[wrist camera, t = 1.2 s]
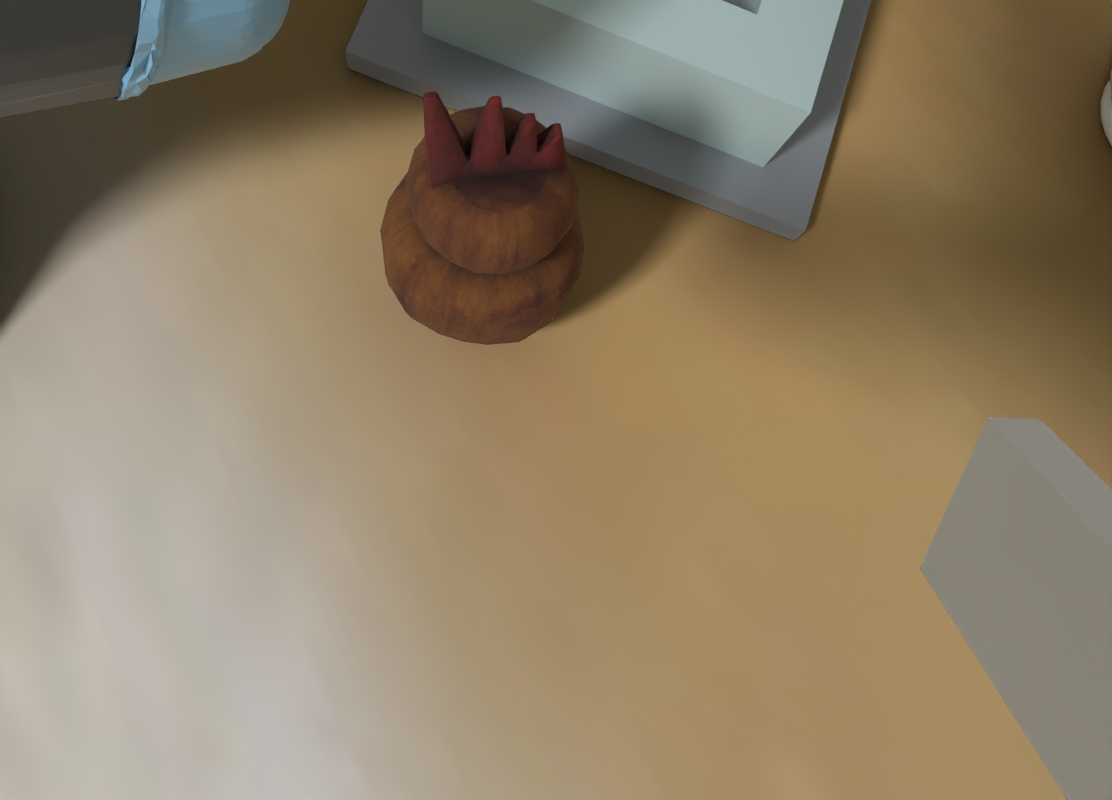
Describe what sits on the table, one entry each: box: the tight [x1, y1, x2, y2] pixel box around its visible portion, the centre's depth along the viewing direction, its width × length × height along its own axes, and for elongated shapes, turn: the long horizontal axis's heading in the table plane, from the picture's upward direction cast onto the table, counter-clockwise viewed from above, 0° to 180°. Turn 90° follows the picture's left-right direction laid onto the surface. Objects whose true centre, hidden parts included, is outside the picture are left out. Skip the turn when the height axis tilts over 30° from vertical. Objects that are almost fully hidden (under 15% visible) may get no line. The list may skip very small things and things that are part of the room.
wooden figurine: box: [380, 92, 584, 345], centre depth 27 cm, size 7×6×15 cm
